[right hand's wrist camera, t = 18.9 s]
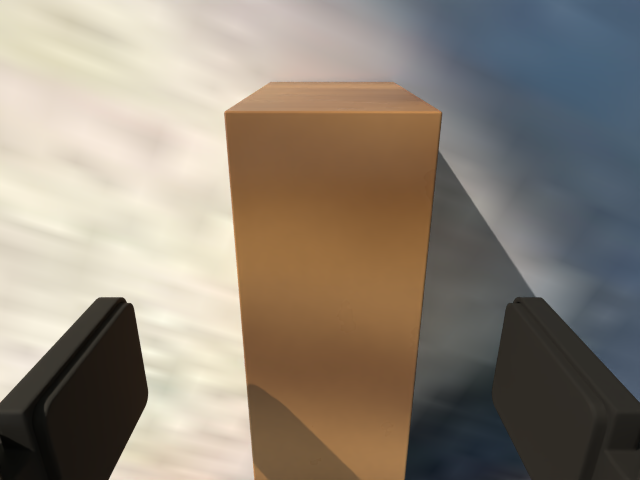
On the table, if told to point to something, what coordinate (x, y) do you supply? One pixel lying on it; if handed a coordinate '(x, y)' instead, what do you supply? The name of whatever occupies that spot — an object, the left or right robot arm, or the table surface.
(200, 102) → the table surface
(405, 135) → the beam
